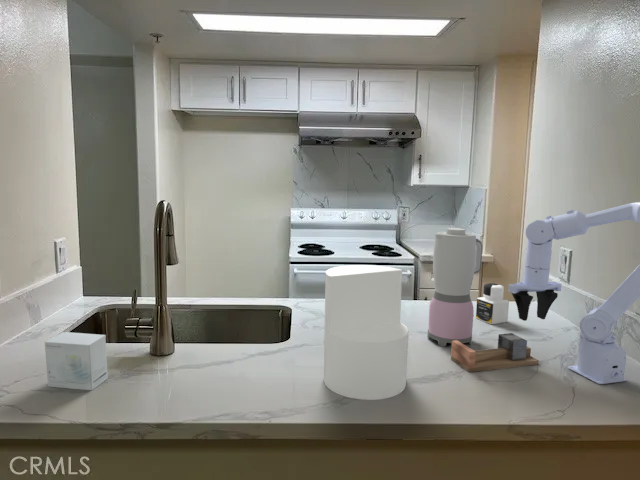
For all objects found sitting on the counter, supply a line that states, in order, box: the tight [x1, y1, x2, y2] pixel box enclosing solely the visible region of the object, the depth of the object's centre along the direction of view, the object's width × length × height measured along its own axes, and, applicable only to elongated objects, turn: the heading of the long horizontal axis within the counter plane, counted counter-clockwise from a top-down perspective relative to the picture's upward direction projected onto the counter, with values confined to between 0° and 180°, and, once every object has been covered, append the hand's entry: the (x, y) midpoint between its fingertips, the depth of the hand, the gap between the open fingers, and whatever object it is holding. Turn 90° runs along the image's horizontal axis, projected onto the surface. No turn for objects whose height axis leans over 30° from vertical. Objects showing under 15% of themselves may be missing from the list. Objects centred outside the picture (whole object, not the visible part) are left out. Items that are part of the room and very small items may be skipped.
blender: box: [427, 227, 483, 347], centre depth 132 cm, size 16×12×32 cm
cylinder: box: [323, 264, 409, 401], centre depth 105 cm, size 19×19×25 cm
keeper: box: [497, 332, 528, 360], centre depth 119 cm, size 6×4×5 cm
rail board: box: [450, 340, 540, 373], centre depth 118 cm, size 8×20×5 cm, turn 106°
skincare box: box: [44, 331, 109, 391], centre depth 102 cm, size 10×6×10 cm, turn 82°
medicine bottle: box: [475, 282, 510, 325], centre depth 152 cm, size 7×7×12 cm
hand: (531, 318), depth 120 cm, fingers open, 5 cm apart
